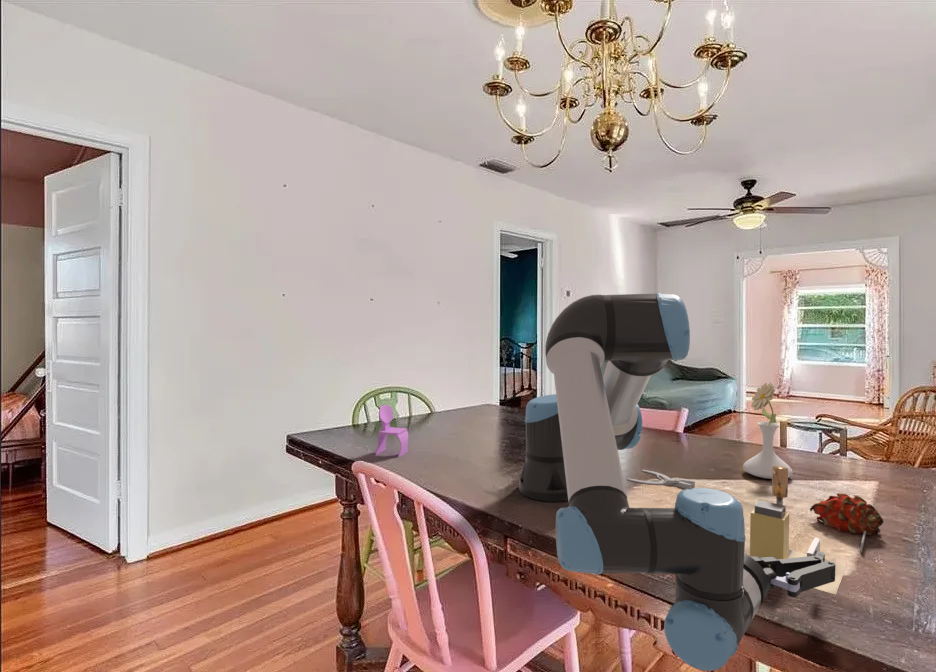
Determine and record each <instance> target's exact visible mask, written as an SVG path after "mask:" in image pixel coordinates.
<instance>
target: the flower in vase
mask: <svg viewBox="0 0 936 672" xmlns="http://www.w3.org/2000/svg"><path fill="white" fill-rule="evenodd" d="M775 392H776V389H775V386H774V385H773V383H772V382H769V383H767V382H764V384H762V385H760V387H757V388H756V392H755V393H754V395H753V396H752V398H751V401H752V402H751V408H753V410H754V411H759V410H761V414H762V415H763V416H764V417H765V418H767V420H769V421H758V422H757V425H758V426H759V428H760V431H761V434H762V449H761V451H760V452H759V453H757V454H756V455H754V456H753V457H751V458H749V459H748V460H746V461H745V462H744V463H743V466H742V468H743V470H744V471H745V472H746V473H747V474H750V475H752V476H755V477H758V478H762V479H769V480H772V472H773V466H783V467H786V468H788V478H790V477H791V476H792V475H793V474H794V472H793V469H792V467H791V466H790V465H789V464H788V463H786V461H784V460H783V459H782V458H780V457H779V456H778V455H777V454H776V453H775V451H774V435H775V432H776V430H777V429H778V428H779V426H780V424H779V423H778V422H777V418H776V417H777V413H774V409H773V406H772V404H771V401H772V400H773V397H774V395H775ZM767 405H768V406H769V407H770V410H771V413H769V412H768V411H767V410H766V409H765V408H766V407H767Z"/></svg>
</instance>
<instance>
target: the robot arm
mask: <svg viewBox="0 0 936 672" xmlns="http://www.w3.org/2000/svg"><path fill="white" fill-rule="evenodd" d="M690 330H691V329H690V321H689V315H688V311H687V308H686V305H685V302H684V301H683V299H682V298H681V297H680V296H678V295H677V294H673V293H661V292H657V293H633V294H632V293H631V294H629V293H628V294H627V293H626V294H625V293H623V294H592V295H586V296H583V297H581V298H579V299H576V300H575V301H573V302H572V303H570V304H569V305H567V306H566V307H565V308H564V309H563V310H562V311H561V312H560V313H559V314H558V315H557V317H556V318H555V319H554V321H553V323H552V325H551V327H550V328H549V331H548V333H547V337H546V340H545V341H546V342H545V344H544V345H545V346H544V347H545V350H544V351H545V352H544V353H545V362H546V366H547V369H548V370H549V371H550V373H552V374H553V379H554V387H555V393H553V394H547V395H546V394H545V395H542V396H539V397H535V398H532V399H530V400H529V401H528V402H527V404H526V406H525V418H524V422H525V461H524V465H523V468H522V470H521V471H522V472H521V474H520V477H519V481H518V491H519V493H521V494H522V495H523V496H524V497H526V498H528V497H529V498H528V499H532V500H535V501H540V500H541V502H565V501H568V506H566V507H561V508H559V509H558V510H557V511H556V514H555V543H556V544H555V546H556V555H557V560H558V563H559V565H560V567H562V569H563V570H565V571H568V572H574V573H584V574H593V575H596V576H597V575H602V574H652V575H653V574H655V575H656V574H658V575H660V574H661V575H675V602H674V603H673V604H672V605H671V606H670V607H669V610H668V613H667V615H666V617H665V619H664V622H663V623H664V625H663V629H664V630H663V631H664V634H665V635H664V636H665V638H666V641H667V643H668V645H669V648H670V649H671V650H672V652H674V654H675V655H676V656H677V657H678V658H679V659H680V660H681V661H682V662H684V663H685V664H687V665H688V666H690V667H692V668H694V669H697V670H700V671H704V672H713V671H717V670H719V669H721V668H722V667H724V666H725V665H726V664H727V663H728V661H729V660H730V659H731V657H733V656H734V655H735V654H736V652H737V651H738V648H739V644H740V643H741V642H742V639H743V637H744V635H745V633H746V631H747V630H748V628H749V626H750V625H751V623H752V620H753V619H754V617H755V616H756V614H757V612H758V611H759V608H760V606H761V605H762V604H763V601H764V600H765V598H766V597H767V595H768V592H769V591H770V590H771V589H774V588H775V587H778V588H782V589H784V590H786V594H787V596H789V597H791V598H797V597H798V596H799V595H800V594H801V593H802V592H806V591H809V590H811V589H814V588H815V587H819V586H822V585H825V584H828V583H831V582H834V581H835V569H836V568H835V566H836V564H835V563H834V562H835V561H834V562H831V561H832V560H830V561H826V562H825V559H826V557H825V556H826V553H825V552H824V551H821V538H819V537H813V540H812V541H811V544H810V546H809V547H808V549H807V551H806V554H807V557H797V558H786V559H776V558H774V557H762V558H759V557H757V556H755V557H753V556H749V555H746V554H744V549H745V541H746V540H745V538H746V529H745V516H744V508H743V505H742V503H741V502H740V501H739V500H738V498H735V496H734V495H732V494H730V493H728V492H725V491H723V490H720V489H714V488H709V487H692V488H691V489H685V488H684V489H682V490H681V491H679V492H678V494H677V495H676V499H675V502H674V507H665V508H664V507H630V505H629V501H628V494H627V489H626V485H625V480H624V474H623V470H622V465H621V462H620V461H621V460H620V455H619V451H623V450H627V449H628V450H629V449H633V448H634V447H636V446H637V445H638V444H639V442H640V440H641V436H642V433H641V432H642V431H643V414H642V410H641V407H640V406H639V404H638V403H639V402H640V399H641V398H642V395H643V393H644V391H645V389H646V387H647V385H648V383H649V381H650V378H651V376H653V375H656V374H658V373H660V372H661V371H662V370H663V369H664V368H665V366H666V365H667V363H668V361H674V362H677V361H681V360H685V359H686V358H687V356H688V355H689V351H690V344H691V343H690V342H691V335H690V334H691V332H690ZM606 361H607V364H606V367H605V370H604V374H603V373H602V369H601V368H602V367H603V365H604V362H606ZM769 565H770V566H769Z"/></svg>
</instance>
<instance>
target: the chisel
mask: <svg viewBox="0 0 936 672" xmlns="http://www.w3.org/2000/svg"><path fill="white" fill-rule="evenodd" d="M788 480H789V477H788V468H786V467H783V466H773V472H772V479H771V481H772V482H771V483H772V484H771V495H772V496H774V497H775V499H776V501H775V502H776V503H775V504H779V505H784V498H788V496H789V495H788V492H789V491H788V489H789V485H788V483H789V481H788Z"/></svg>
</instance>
